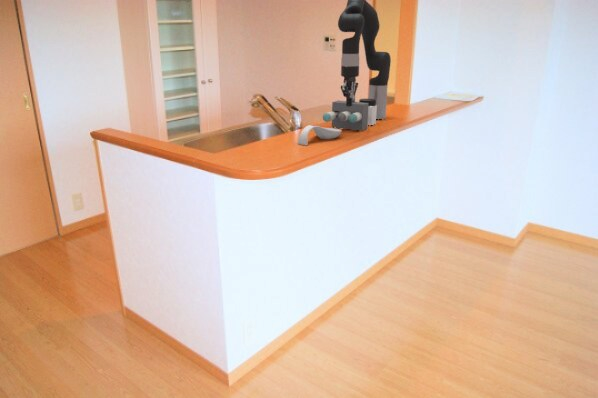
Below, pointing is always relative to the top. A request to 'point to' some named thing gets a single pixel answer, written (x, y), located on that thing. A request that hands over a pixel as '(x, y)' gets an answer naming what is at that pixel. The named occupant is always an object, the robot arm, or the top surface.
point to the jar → (371, 110)
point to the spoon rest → (318, 133)
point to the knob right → (355, 117)
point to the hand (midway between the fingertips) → (349, 106)
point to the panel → (356, 107)
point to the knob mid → (343, 116)
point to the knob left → (329, 116)
